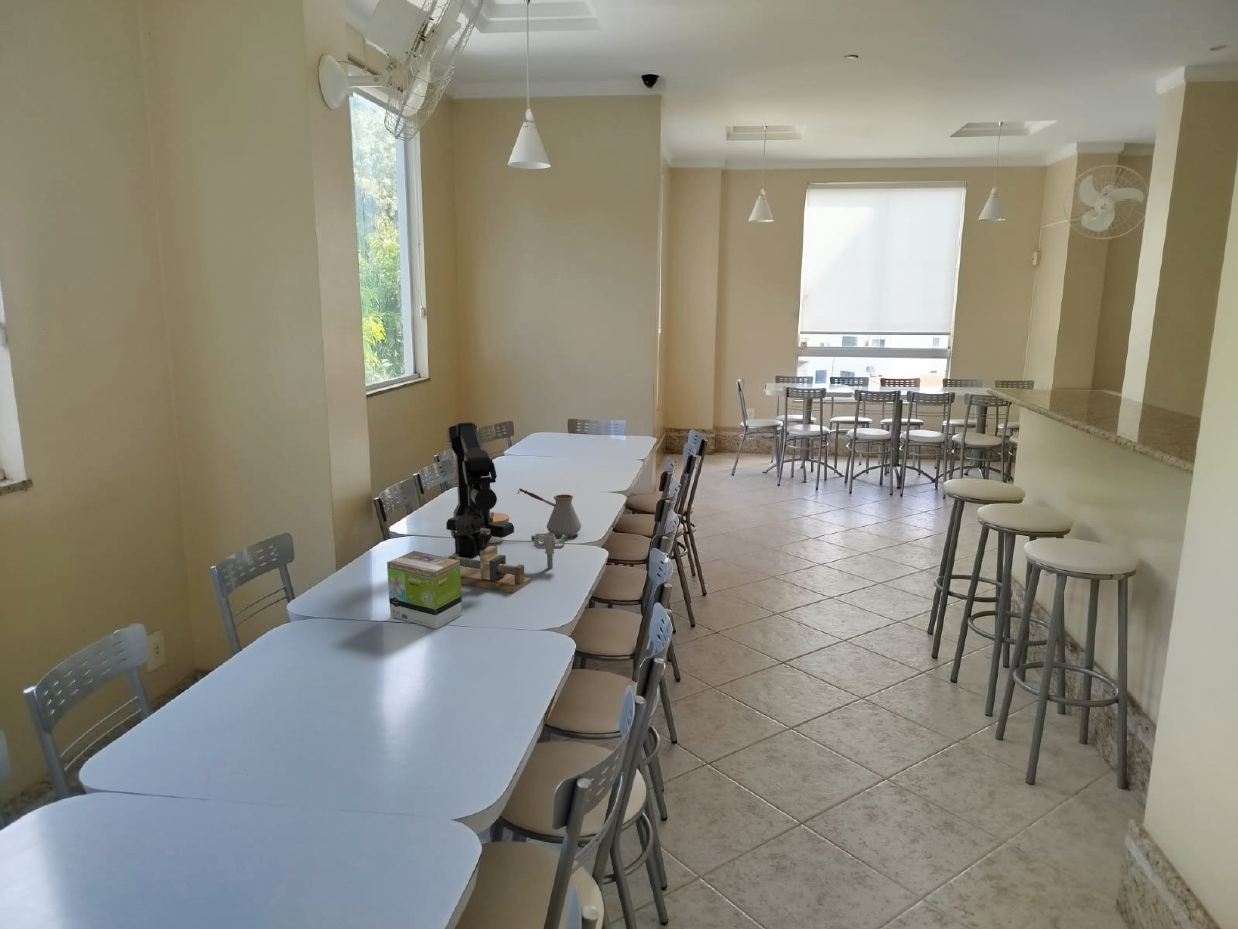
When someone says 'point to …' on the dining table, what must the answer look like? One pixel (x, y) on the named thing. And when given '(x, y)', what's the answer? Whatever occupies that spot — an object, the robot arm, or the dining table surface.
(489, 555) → the sleeve
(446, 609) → the tea box
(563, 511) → the coffee pot
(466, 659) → the dining table surface
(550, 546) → the mechanical component
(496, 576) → the gray slab
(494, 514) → the lidded jar
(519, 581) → the pipe stand
